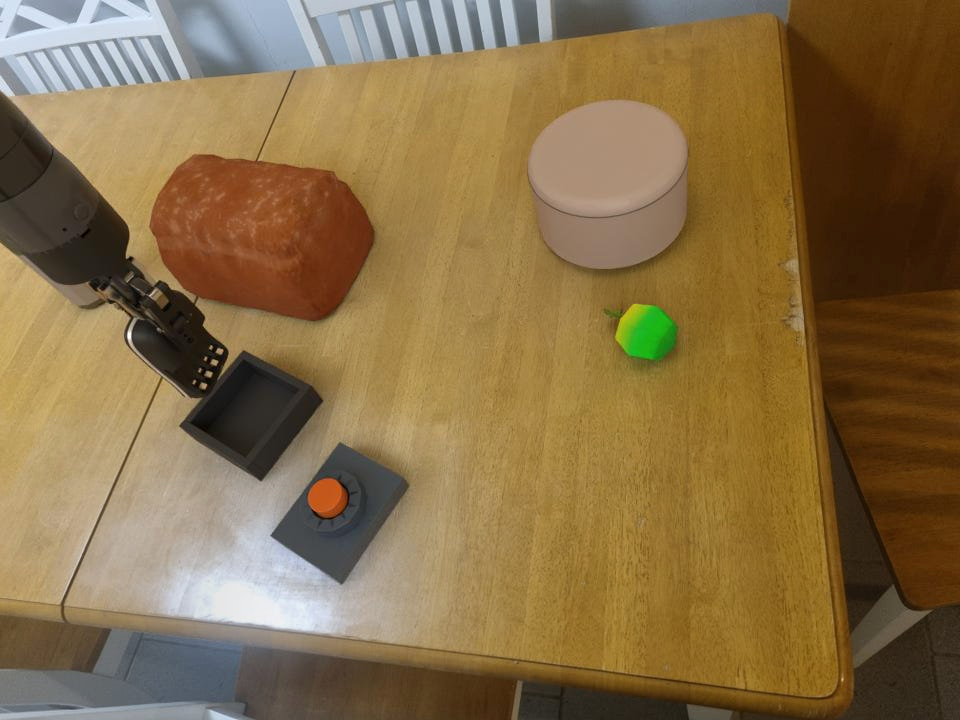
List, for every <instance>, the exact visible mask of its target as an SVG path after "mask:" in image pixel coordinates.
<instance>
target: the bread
mask: <svg viewBox="0 0 960 720" xmlns="http://www.w3.org/2000/svg"><path fill="white" fill-rule="evenodd" d="M148 227H149V230H150V232H151V235H153V236H154V238H155V241H156V244H157V247H158V248H157V249H158V252H159V255H160V258H161V261H162V263H163V265H164V266H165V268H166V269H167V270H168V271H169V273H171V275H172V276H173V277H174V278H175V280H176V281H177V283H178V284H179V285H180V286H181V287H182V289H183V290H185V291H187V292H189V293H191V294H193V295H195V296H196V297H198V298H201V299H205V300H211V301H216V302H221V303H226V304H229V305H235V306H240V307H244V308H250V309H253V310H254V309H255V310H260V311H263V312H269V313H274V314H277V315H280V316H282V317H288V318H293V319H297V320H298V319H299V320H305V321H310V322H314V321H317V320H322V319H325V318H328V317H329V316H330V315H331V314H332V313H333V312H334V311H335V310H336V309H337V308H338V307H339V306H340V305H341V303H342V301H343V300H344V298H345V296H347V293H348V292H349V290H350V288H351V287H352V285H353V283H354V281H355V280H356V278H357V276H358V274H359V272H360V270H361V269H362V268H363V265H364V263H365V261H366V259H367V256H368V255H369V253H370V250H371V249H372V246H373V244H374V237H375V229H374V227H373V224H372V222H371V220H370V218H369V215H368V213H367V211H366V208H365V207H364V206H363V204H362V203H361V201H360V200H359V199H358V198H357V196H356V194H355V193H354V191H353V190H352V189H351V187H350V186H349V185H348V183H347V182H345V181H343V180H341V179H339V178H338V176H337V174H336V172H335V170H328V169H322V168H314V167H300V166H295V165H290V164H286V163H275V162H270V161H265V160H250V159H246V158H226V157H222V156H219V155H216V154H207V153H205V154H200V153H198V154H196V153H194V154H192V155H190V157H188V158H187V159H186V160H184V161H183V162H182V163H180V164H179V165H178V166H176V168H175V169H174V170H173V172H172V174H171V175H170V176H169V177H168V179H167V181H166V182H165V184H164V185H163V187H162V188H161V189H160V190H159V192H158V193H157V196H156V198H155V201H154V204H153V206H152V210H151V215H150V221H149V226H148Z"/></svg>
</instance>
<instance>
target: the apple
mask: <svg viewBox="0 0 960 720" xmlns="http://www.w3.org/2000/svg"><path fill="white" fill-rule="evenodd" d="M601 309H602V311H603V312H604V314H605V315H606V316H609V317H608V318H609V319H610V318H615V319H618V324H617V328H616V333H615V336H614V339H615V341H617V343H618V344H619V345H620V347H621V348H622V349H623V351H624V352H625V353H626V355H628V356H630V357H634V358H637V359H643V360H650V361H656V362H660V361H661V360H662V359H663V358H665V357H666V356H667V355H668V354H669V353H670V352H671V351H672V350H673V349H675V345H676V342H677V341H676V340H677V336H678V332H679V326H678V325H677V323H676V322H675V321H674V320H673V318H671V316H670V315H669V314H668V313H667V312H666V311H665V310H664V309H662V308H660V307H659V306H657V305H651V304H640V303H633V304H632V305H631V306H630V307H629V308H628V309H627V310H626V311H625V312H624V313H623V308H621V309H619V310H618V311H616V312H614V311H612V310H611V309H610V308H601ZM621 314H623V315H622V316H621V317H620V315H621Z"/></svg>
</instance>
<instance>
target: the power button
mask: <svg viewBox="0 0 960 720" xmlns="http://www.w3.org/2000/svg"><path fill="white" fill-rule="evenodd" d="M347 501H348V495H347V492H346V490H345V489H344V487H343V486H342V485H341V484H340V483H339V482H338V481H336V480H334V479H331V478H326V479H322V480H320V481H318V482H317V483H315V484H314V485H313V487H312V488H311V490H310V492H309V495H308V503H309V505H310V507H311V508H312V509H313V510H314V511H315V512H316V513H317V514H318V515H320V516H321V517H324V518H332V517H335V516H337V515H338V514H340V513H341V512H342V511H343V510H344V508H345V507H346V505H347Z"/></svg>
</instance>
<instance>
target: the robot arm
mask: <svg viewBox="0 0 960 720" xmlns="http://www.w3.org/2000/svg"><path fill="white" fill-rule="evenodd" d="M128 225H129V224H128V223H127V222H126V220H125V219H123V217H122V216H121V215H120V214H119V213H118V211H116V209H115V208H114V207H113V205H111V204H110V203H109V202H108V201H107V199H106V198H105V197H104V196H103V195H102V194H101V193H100V191H98V189H97V188H96V187H95V186H94V185H93V184H92V182H90V180H89V179H88V178H87V177H86V176H85V174H83V173H82V171H81V170H80V169H79V168H78V167H77V166H76V165H75V164H74V163H73V162H72V160H70V159H69V158H68V157H66V155H64V154H63V153H62V152H61V151H59V150H58V149H57V148H56V147H55V146H54V145H53V144H52V143H51V142H50V141H49V139H47V138H46V136H45V135H44V134H43V133H42V132H41V131H40V130H39V129H38V127H37V126H36V125H35V124H34V123H33V122H32V121H31V120H30V118H29V117H28V116H27V115H26V114H25V113H24V112H23V111H22V109H21V108H19V107H18V105H17V104H16V103H15V102H14V101H13V99H11V98H10V97H9V96H8V95H7V94H6V93H4V92H3V91H2V90H0V234H1V235H2V236H3V237H4V238H5V239H6V240H8V241H9V242H10V243H11V244H12V245H13V246H14V247H15V248H16V249H18V250H19V251H20V252H21V253H22V254H23V255H24V256H25V257H26V258H28V259H29V260H30V261H31V262H32V263H33V264H34V265H35V266H37V267H38V268H39V269H40V270H41V271H42V272H43V273H44V274H46V275H47V276H48V277H49V278H50V279H51V280H53V281H54V282H56V283H59V284H62V285H79V284H84V285H86V286H87V287H89V288H90V289H92V290H93V291H94V292H95V293H96V294H97V295H98V296H99V297H100V298H101V299H102V300H104V302H106V303H108V304H109V305H113V307H114V308H115V310H117V311H120V312H124V313H125V314H126V315H127V316H128V317H129V318H131V316H133V317H135V318H137V319H140V320H147V321H148V322H149V323H150V324H152V325H153V326H154V327H155V328H156V330H157V331H158V332H159V333H162V334H163V335H164V336H165V337H166V338H167V339H168V340H169V341H170V342H171V343H172V344H173V345H174V346H175V347H176V348H177V349H178V350H180V351H182V352H183V353H188V352H189V351H190V350H191V349H192V348H193V347H194V346H195V345H196V343H197V342H198V341H199V339H200V336H199V334H198V333H197V332H196V331H195V330H194V329H193V328H192V327H191V326H190V325H189V324H188V323H187V321H189V320H190V319H191V318H192V316H191V315H190V313H189V312H188V311H187V309H186V308H185V307H184V305H183V304H182V303H181V301H180V300H179V299H178V297H177V296H176V295H175V294H174V292H173V291H172V290H173V289H172V288H171V287H170V285H169V284H168V283H167V282H166V281H163V280H162V279H159V280H157V281H156V279H155V278H153V277H152V276H151V275H150V274H149V273H148V272H147V268H146V267H145V266H144V265H143V264H142V263H141V262H140V261H139V260H138V259H137V258H136V257H134V256H132V255H130V254H129V255H128V256H127V251H128V247H129V242H130V238H131V234H130V233H131V231H130V228H129V226H128ZM139 303H140V304H141V306H140V307H138V308H136V307H137V305H138V304H139Z"/></svg>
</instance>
